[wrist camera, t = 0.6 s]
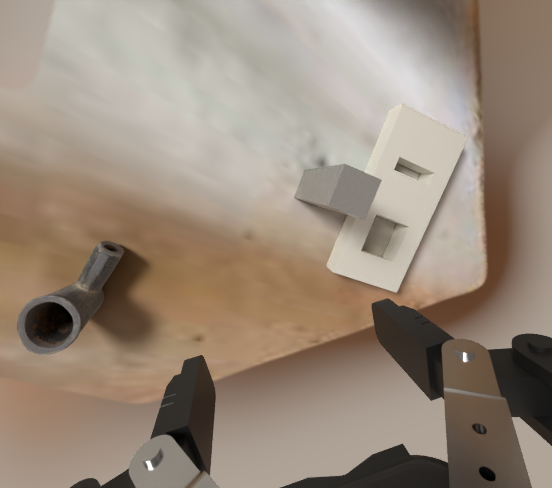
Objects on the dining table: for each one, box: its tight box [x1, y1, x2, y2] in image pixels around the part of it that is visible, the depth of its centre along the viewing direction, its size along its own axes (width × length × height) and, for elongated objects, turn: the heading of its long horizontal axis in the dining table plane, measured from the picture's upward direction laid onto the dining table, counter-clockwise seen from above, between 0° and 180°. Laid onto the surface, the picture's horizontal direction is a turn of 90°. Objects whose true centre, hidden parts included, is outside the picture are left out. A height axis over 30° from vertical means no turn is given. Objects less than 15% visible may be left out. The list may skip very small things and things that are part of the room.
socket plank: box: [326, 104, 468, 293], centre depth 40 cm, size 24×11×3 cm, turn 160°
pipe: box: [17, 241, 124, 354], centre depth 33 cm, size 6×13×8 cm, turn 146°
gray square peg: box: [295, 164, 382, 220], centre depth 32 cm, size 4×4×14 cm
